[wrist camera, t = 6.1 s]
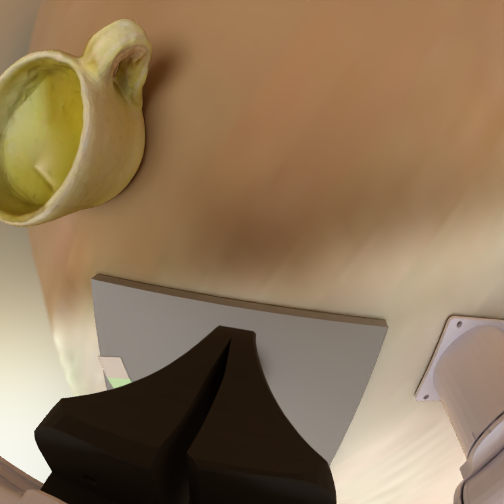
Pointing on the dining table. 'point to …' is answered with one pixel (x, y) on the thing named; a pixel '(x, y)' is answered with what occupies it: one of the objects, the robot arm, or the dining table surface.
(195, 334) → the tuner board
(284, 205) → the dining table surface
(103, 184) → the mug
